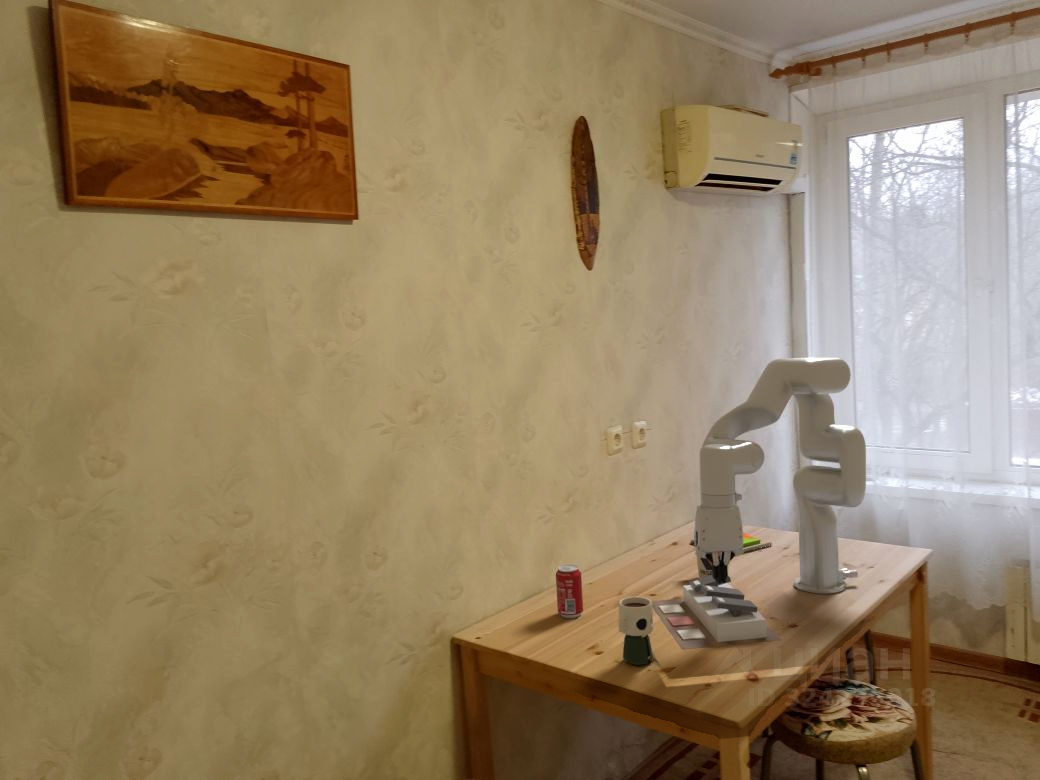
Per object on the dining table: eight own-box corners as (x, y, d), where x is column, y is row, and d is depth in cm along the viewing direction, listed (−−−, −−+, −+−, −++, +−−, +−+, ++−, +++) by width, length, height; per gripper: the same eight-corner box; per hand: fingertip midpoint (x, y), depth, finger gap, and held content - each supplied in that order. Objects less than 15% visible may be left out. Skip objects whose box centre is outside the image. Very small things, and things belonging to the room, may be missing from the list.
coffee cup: (693, 582, 222) (691, 539, 221) (699, 572, 230) (697, 530, 229) (728, 585, 218) (726, 541, 217) (733, 574, 227) (731, 531, 226)
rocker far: (726, 581, 203) (723, 571, 203) (732, 587, 198) (729, 576, 198) (691, 591, 202) (689, 581, 202) (697, 597, 198) (694, 587, 198)
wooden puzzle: (730, 559, 242) (730, 547, 242) (688, 545, 259) (688, 534, 258) (774, 547, 250) (773, 536, 250) (730, 535, 267) (730, 524, 266)
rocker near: (748, 612, 187) (750, 600, 187) (755, 619, 183) (757, 606, 183) (710, 607, 186) (712, 595, 186) (716, 614, 182) (718, 602, 182)
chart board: (733, 598, 208) (733, 592, 208) (781, 645, 179) (781, 638, 179) (648, 606, 207) (648, 600, 207) (682, 654, 177) (682, 647, 177)
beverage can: (586, 610, 206) (583, 564, 205) (579, 620, 200) (577, 572, 199) (562, 609, 208) (559, 563, 207) (554, 618, 202) (552, 571, 201)
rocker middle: (736, 600, 195) (737, 588, 195) (742, 606, 191) (744, 594, 190) (699, 595, 194) (701, 584, 194) (705, 602, 190) (707, 590, 190)
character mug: (635, 674, 169) (632, 613, 168) (608, 665, 174) (605, 605, 173) (667, 657, 176) (664, 598, 175) (640, 648, 181) (637, 591, 180)
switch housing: (726, 597, 206) (726, 581, 206) (766, 637, 180) (766, 619, 180) (683, 601, 205) (683, 585, 205) (717, 641, 179) (717, 624, 179)
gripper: (744, 495, 186) (746, 574, 188) (680, 499, 185) (682, 578, 186) (757, 501, 179) (759, 584, 180) (690, 506, 177) (692, 589, 179)
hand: (720, 581), depth 183 cm, fingers closed
